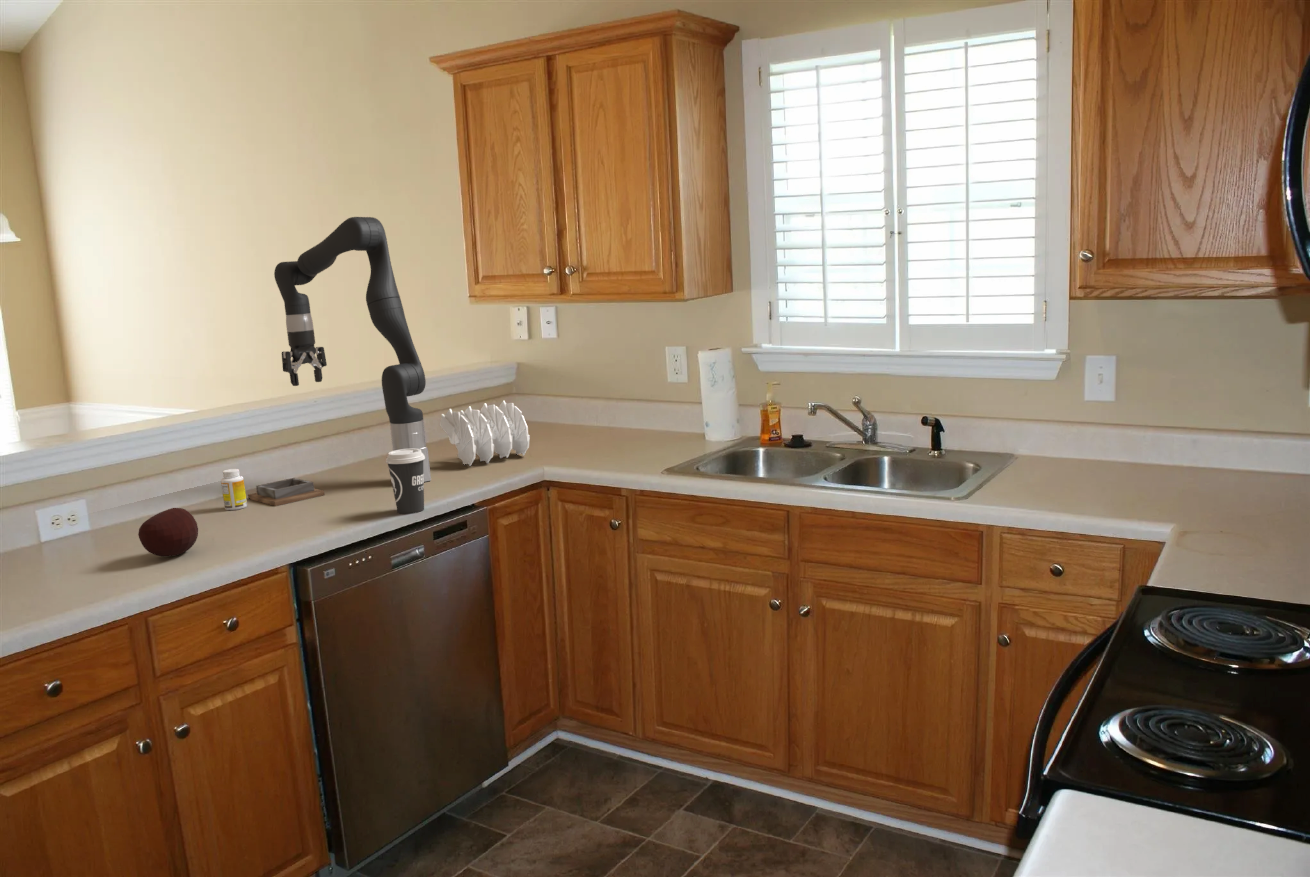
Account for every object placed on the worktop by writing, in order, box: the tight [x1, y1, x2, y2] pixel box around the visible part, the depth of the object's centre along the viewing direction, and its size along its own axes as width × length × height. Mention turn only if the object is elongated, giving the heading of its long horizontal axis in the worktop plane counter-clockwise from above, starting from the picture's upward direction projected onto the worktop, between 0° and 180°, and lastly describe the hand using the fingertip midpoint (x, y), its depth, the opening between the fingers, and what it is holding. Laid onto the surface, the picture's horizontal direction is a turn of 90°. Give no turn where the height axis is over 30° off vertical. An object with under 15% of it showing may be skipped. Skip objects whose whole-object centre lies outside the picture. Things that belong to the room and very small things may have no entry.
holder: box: [247, 477, 325, 507], centre depth 283 cm, size 16×14×4 cm
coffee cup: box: [385, 448, 425, 515], centre depth 257 cm, size 10×10×15 cm
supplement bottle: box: [220, 468, 248, 511], centre depth 272 cm, size 6×6×10 cm
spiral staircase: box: [439, 400, 531, 467], centre depth 314 cm, size 18×18×25 cm
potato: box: [137, 507, 199, 557], centre depth 229 cm, size 11×13×10 cm
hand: (307, 383), depth 310 cm, fingers open, 8 cm apart
